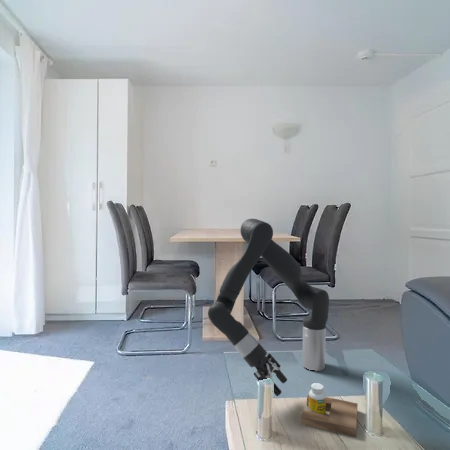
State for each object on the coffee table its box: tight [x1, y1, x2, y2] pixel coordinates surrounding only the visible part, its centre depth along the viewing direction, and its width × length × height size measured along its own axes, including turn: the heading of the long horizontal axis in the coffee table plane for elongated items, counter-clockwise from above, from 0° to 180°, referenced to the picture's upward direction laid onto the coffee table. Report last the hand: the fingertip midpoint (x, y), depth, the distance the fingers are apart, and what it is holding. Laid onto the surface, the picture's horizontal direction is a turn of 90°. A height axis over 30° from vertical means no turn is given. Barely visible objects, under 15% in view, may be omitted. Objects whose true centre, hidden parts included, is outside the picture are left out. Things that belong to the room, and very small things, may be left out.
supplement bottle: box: [308, 382, 327, 415], centre depth 116 cm, size 5×5×10 cm
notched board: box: [300, 393, 359, 438], centre depth 115 cm, size 14×16×2 cm
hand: (282, 387), depth 120 cm, fingers open, 8 cm apart
